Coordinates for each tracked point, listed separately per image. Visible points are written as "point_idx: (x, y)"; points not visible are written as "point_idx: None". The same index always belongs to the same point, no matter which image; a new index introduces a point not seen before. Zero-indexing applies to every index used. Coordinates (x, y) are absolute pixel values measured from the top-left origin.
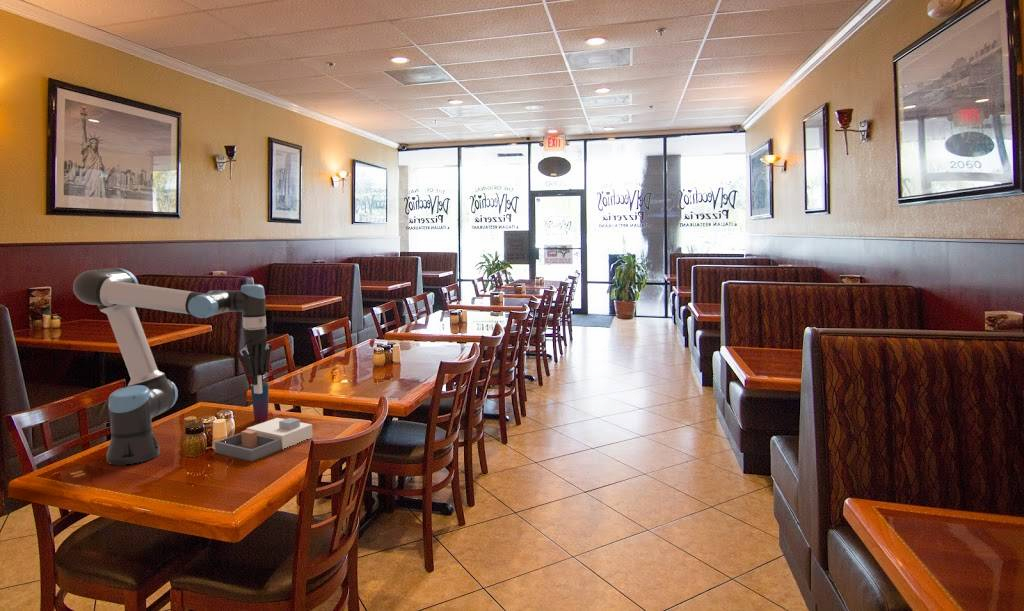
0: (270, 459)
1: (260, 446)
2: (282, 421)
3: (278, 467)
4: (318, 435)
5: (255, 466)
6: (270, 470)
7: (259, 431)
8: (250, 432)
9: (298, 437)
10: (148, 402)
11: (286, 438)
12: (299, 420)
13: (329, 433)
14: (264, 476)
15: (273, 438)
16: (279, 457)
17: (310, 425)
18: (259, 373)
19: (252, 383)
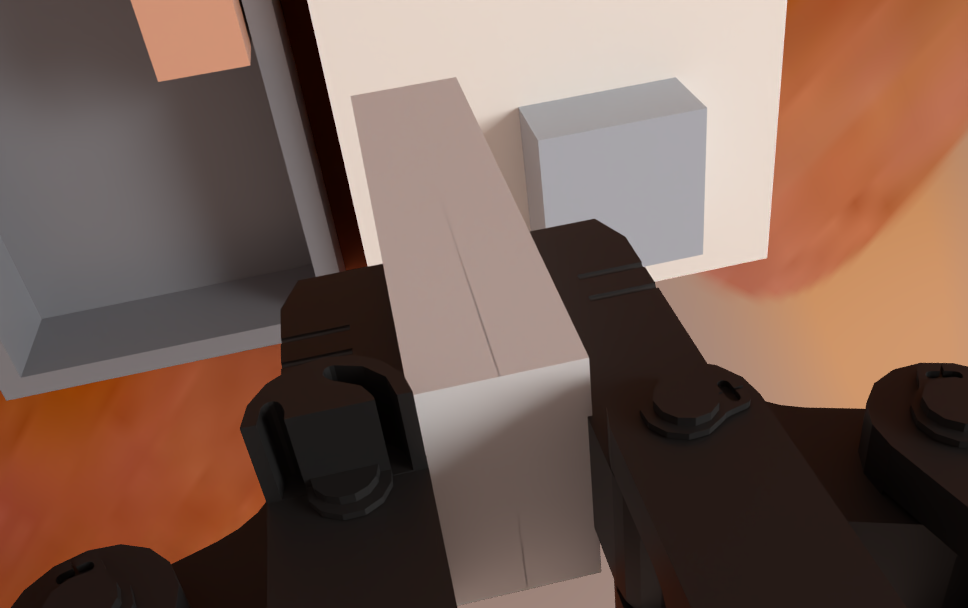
0: (182, 375)
1: (122, 366)
2: (560, 171)
3: (152, 525)
4: (776, 185)
5: (23, 420)
6: (84, 535)
7: (310, 10)
8: (174, 34)
9: None
10: None
11: None
12: (695, 251)
13: (852, 211)
14: (8, 588)
15: (327, 261)
16: (255, 385)
17: (743, 260)
18: (611, 546)
19: (288, 329)
